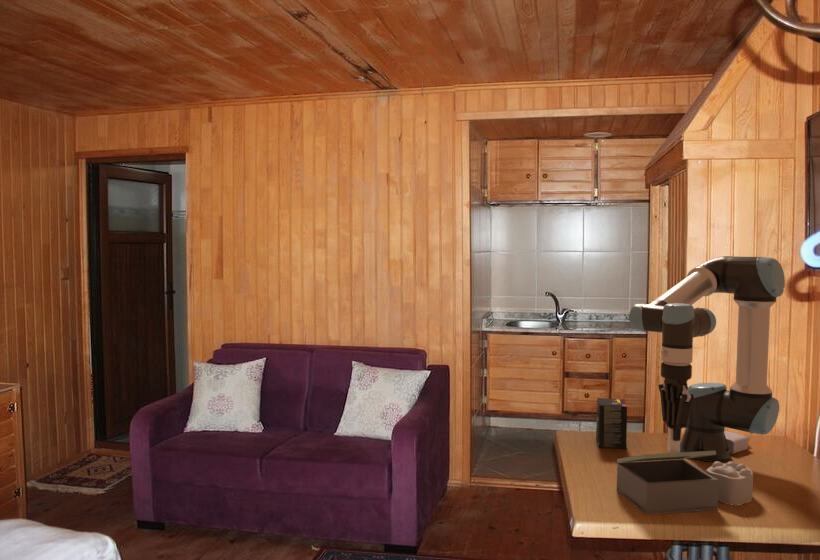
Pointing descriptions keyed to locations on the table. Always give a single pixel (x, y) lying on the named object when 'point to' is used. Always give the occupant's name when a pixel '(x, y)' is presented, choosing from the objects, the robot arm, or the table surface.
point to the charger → (736, 442)
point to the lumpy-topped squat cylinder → (732, 482)
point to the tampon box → (611, 423)
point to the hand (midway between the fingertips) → (673, 451)
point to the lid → (666, 456)
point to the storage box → (667, 486)
